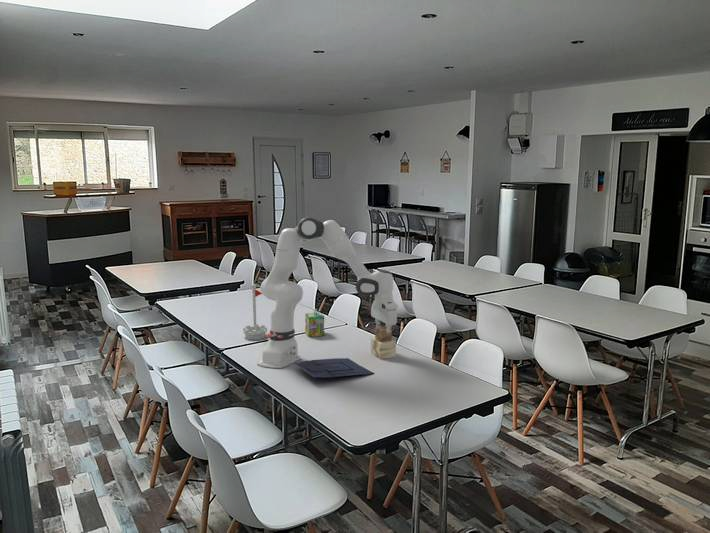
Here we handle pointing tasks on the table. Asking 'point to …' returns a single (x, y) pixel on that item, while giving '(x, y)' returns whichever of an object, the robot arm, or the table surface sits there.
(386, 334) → the walnut cube
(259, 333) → the flag stand
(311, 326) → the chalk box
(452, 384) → the table surface
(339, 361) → the folded navy cloth
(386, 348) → the beech block
